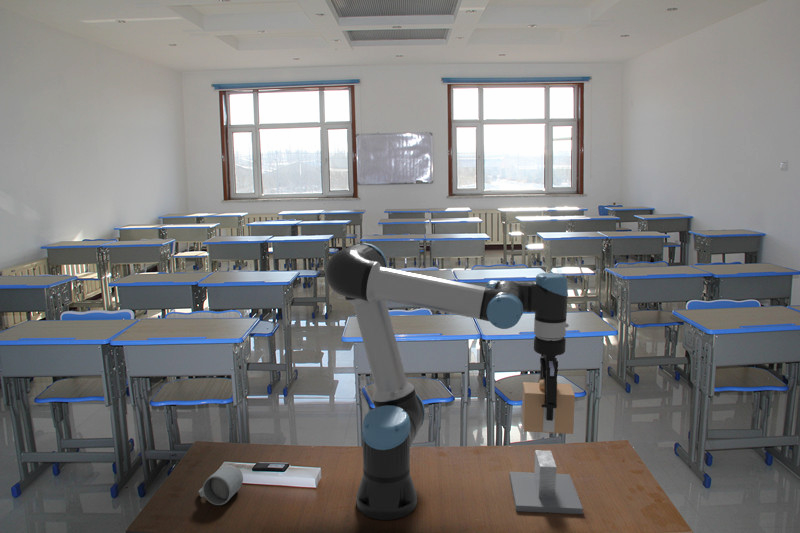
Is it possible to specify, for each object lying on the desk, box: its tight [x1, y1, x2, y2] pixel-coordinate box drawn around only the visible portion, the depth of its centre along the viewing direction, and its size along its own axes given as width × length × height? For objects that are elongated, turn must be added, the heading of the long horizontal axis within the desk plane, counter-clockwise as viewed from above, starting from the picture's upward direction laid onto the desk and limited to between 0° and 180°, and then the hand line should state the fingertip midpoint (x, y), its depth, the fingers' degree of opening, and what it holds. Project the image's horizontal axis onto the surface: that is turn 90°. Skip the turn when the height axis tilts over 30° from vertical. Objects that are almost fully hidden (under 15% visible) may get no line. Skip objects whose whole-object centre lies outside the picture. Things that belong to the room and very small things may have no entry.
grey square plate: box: [508, 449, 584, 515], centre depth 148 cm, size 16×16×10 cm
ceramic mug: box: [198, 464, 244, 506], centre depth 148 cm, size 11×8×8 cm
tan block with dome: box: [521, 379, 576, 435], centre depth 144 cm, size 12×7×12 cm, turn 82°
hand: (546, 423), depth 145 cm, fingers closed on tan block with dome, 7 cm apart
